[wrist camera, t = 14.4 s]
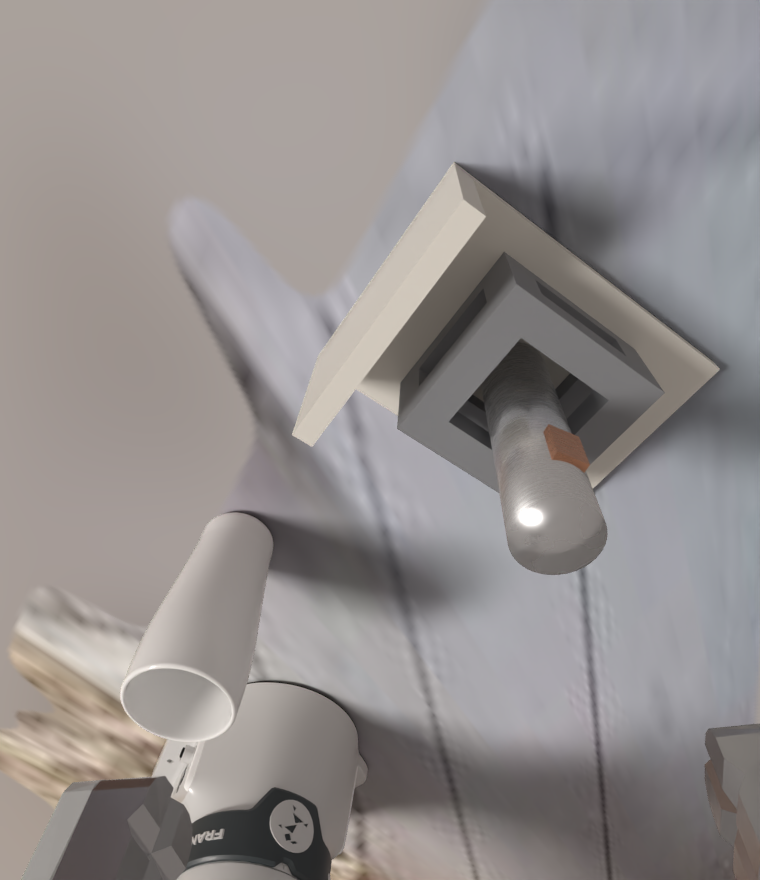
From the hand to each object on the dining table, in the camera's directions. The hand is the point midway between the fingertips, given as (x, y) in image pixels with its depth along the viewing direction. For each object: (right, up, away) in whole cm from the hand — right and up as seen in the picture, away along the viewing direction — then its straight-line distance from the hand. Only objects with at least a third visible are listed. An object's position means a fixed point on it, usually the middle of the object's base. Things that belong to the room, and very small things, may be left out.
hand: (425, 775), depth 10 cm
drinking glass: (-11, -2, +41) cm, 42 cm away
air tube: (+7, +9, +31) cm, 33 cm away
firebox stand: (+8, +10, +32) cm, 34 cm away
